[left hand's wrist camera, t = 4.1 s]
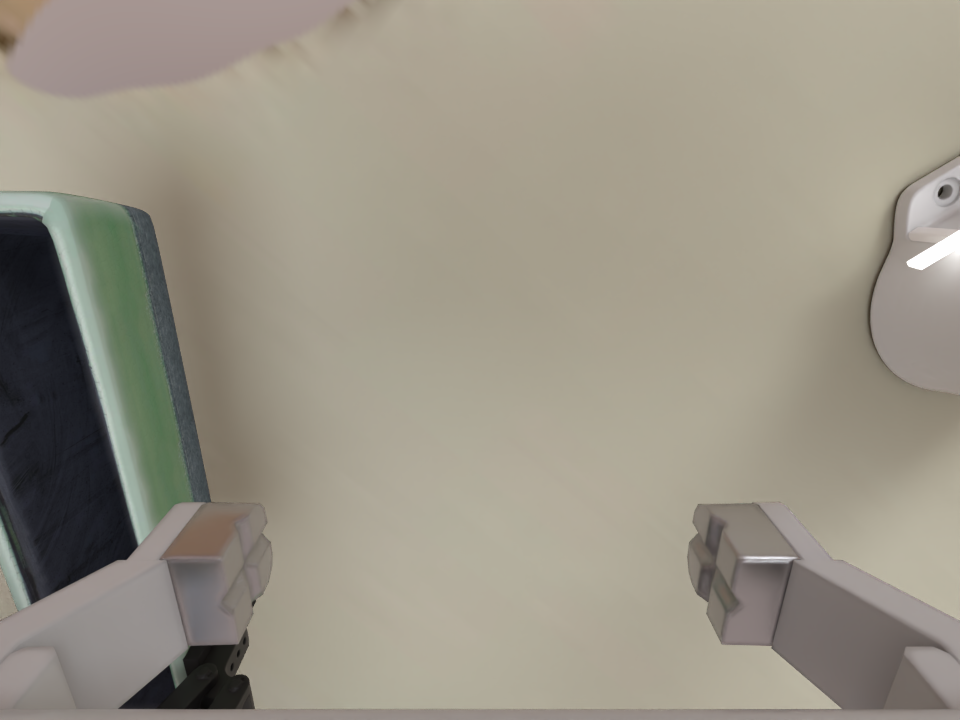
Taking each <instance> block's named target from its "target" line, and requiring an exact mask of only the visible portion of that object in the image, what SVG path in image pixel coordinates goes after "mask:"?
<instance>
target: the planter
mask: <svg viewBox="0 0 960 720" xmlns="http://www.w3.org/2000/svg"><path fill="white" fill-rule="evenodd" d="M181 502H205V503H208V502H211V499H210V494H209V489H208V484H207V479H206V474H205V470H204V465H203V460H202V455H201V450H200V445H199V440H198V435H197V430H196V425H195V421H194V416H193V411H192V406H191V401H190V396H189V391H188V386H187V381H186V377H185V372H184V367H183V362H182V357H181V352H180V347H179V343H178V338H177V333H176V328H175V323H174V318H173V314H172V309H171V304H170V299H169V294H168V290H167V285H166V280H165V275H164V271H163V266H162V261H161V256H160V252H159V247H158V243H157V239H156V235H155V230H154V226H153V223H152V221H151V218H150V216H149V215H148V214H147V213H146V212H144V211H142V210H140V209H137V208H133V207H129V206H125V205H121V204H117V203H112V202H107V201H102V200H97V199H92V198H87V197H82V196H76V195H70V194H64V193H56V192H40V191H0V566H1V568H2V571H3V574H4V576H5V579H6V582H7V584H8V587H9V589H10V592H11V595H12V597H13V600H14V602H15V605H16V608H17V610H18V611H20V610H22V609H24V608H26V607H28V606H30V605H32V604H34V603H35V602H37V601H39V600H41V599H43V598H45V597H47V596H49V595H51V594H53V593H55V592H57V591H59V590H61V589H63V588H65V587H66V586H68V585H70V584H72V583H74V582H76V581H78V580H80V579H82V578H84V577H86V576H88V575H90V574H92V573H94V572H96V571H97V570H99V569H101V568H103V567H105V566H107V565H109V564H111V563H113V562H115V561H117V560H127V559H128V558H129V557H130V555H131V554H132V553H133V552H134V551H135V550H136V548H137V547H138V546H139V545H140V544H141V543H142V542H143V540H144V539H145V538H146V537H147V536H148V535H149V534H150V532H151V531H152V530H153V529H154V528H155V527H156V525H157V524H158V523H159V522H160V521H161V520H162V519H163V517H164V516H165V515H166V514H167V513H168V512H169V511H170V509H171V508H172V507H173V506H174V505H175V504H178V503H181ZM189 648H190V646H188V649H187V650H186V651H185V652H184V653H183V654H181V655H180V656H179V657H178V658H177V659H176V660H174V661H173V662H172V663H171V664H170V665H169V666H167V667H166V668H165V669H164V670H163V671H162V672H160V673H159V674H158V675H157V676H156V677H155V678H153V679H152V680H151V681H150V682H149V683H148V684H146V685H145V686H144V687H143V688H142V689H141V690H139V691H138V692H137V693H136V694H135V695H133V696H132V697H131V698H130V699H129V700H128V701H126V702H125V703H124V704H123V705H122V706H121V707H119V708H118V709H156V708H157V707H158V706H159V705H160V704H161V703H162V702H163V701H164V700H165V699H166V698H167V697H168V696H169V695H170V694H171V693H172V692H173V691H174V690H175V689H176V688H177V687H178V686H179V685H180V684H181V683H182V682H183V681H184V680H185V678H186V677H187V674H186V671H185V667H184V663H183V658H184V657H185V655H186V654H187V652H188V650H189Z"/></svg>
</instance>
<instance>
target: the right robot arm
mask: <svg viewBox="0 0 960 720" xmlns="http://www.w3.org/2000/svg"><path fill="white" fill-rule="evenodd" d="M255 602H256V600H254V601H253V602H252V608H253V606H254V604H255ZM248 646H249V637H248V632H247V628H246V630H245V632H244V634H243V636H242V638H241V640H240V642H239V644H233V645H199V646H190V648H189V650H188V652H187V654H186V655H185V657H184V658H183V663H184V667H185V671H186V674H187V677H186V678H185V680H184V681H183V682H182V683H181V684H180V685H179V686H178V687H177V688H176V689H175V690H174V691H173V692H172V693H171V694H170V695H169V696H168V697H167V698H166V699H165V700H164V701H163V702H162V703H161V704H160V705H159V706H158V707H157V708H156V709H255V707H254V702H253V697H252V692H251V687H250V682H249V678H248V677H247V676H245V675H235V674H236V672H237V670H238V668H239V666H240V663H241V660H242V659H243V657H244V654H245V653H246V650H247V648H248Z"/></svg>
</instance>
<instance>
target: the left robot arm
mask: <svg viewBox="0 0 960 720" xmlns="http://www.w3.org/2000/svg"><path fill="white" fill-rule="evenodd" d="M942 186H943V192H942V194H941V195H940V196H939V197H938V191H939V189H940V188H941V187H942ZM870 325H871V333H872V337H873V341H874V344H875V347H876V349H877V352H878V354H879V355H880V357H881V359H882V360H883V362H884V363H885V364H886V366H887V367H888V368H889V369H890V370H891V371H892V372H893V373H894V374H895V375H897V376H898V377H899V378H901V379H902V380H904V381H906V382H908V383H910V384H912V385H914V386H917V387H920V388H923V389H927V390H932V391H939V392H946V393H951V394H956V395H960V156H958V157H956V158H955V159H953V160H951V161H950V162H948V163H946V164H945V165H943V166H941V167H940V168H938V169H936V170H934V171H933V172H931V173H929V174H928V175H926V176H924V177H923V178H921V179H919V180H918V181H916V182H914V183H913V184H911V185H910V186H908V187H907V188H906V189H905V190H904V191H903V192H902V194H901V195H900V197H899V200H898V202H897V206H896V211H895V219H894V240H893V243H892V247H891V249H890V252H889V254H888V257H887V259H886V261H885V263H884V265H883V267H882V270H881V272H880V274H879V277H878V279H877V282H876V285H875V288H874V292H873V296H872V302H871V310H870ZM266 524H267V518H266V513H265V508H264V507H263V506H262V505H261V504H260V503H219V502H208V503H205V502H181V503H178V504H175V505H174V506H173V507H172V508H171V509H170V511H169V512H168V513H167V514H166V515H165V516H164V517H163V519H162V520H161V521H160V522H159V523H158V524H157V525H156V527H155V528H154V529H153V530H152V531H151V532H150V534H149V535H148V536H147V537H146V538H145V539H144V540H143V542H142V543H141V544H140V545H139V546H138V547H137V548H136V550H135V551H134V552H133V553H132V554H131V555H130V557H129V558H128V559H127V560H117V561H115V562H113V563H111V564H109V565H107V566H105V567H103V568H101V569H99V570H97V571H96V572H94V573H92V574H90V575H88V576H86V577H84V578H82V579H80V580H78V581H76V582H74V583H72V584H70V585H68V586H66V587H65V588H63V589H61V590H59V591H57V592H55V593H53V594H51V595H49V596H47V597H45V598H43V599H41V600H39V601H37V602H35V603H34V604H32V605H30V606H28V607H26V608H24V609H22V610H20V611H18V612H16V613H14V614H12V615H10V616H8V617H6V618H4V619H3V620H1V621H0V720H960V621H959V620H957V619H955V618H953V617H951V616H949V615H948V614H946V613H944V612H942V611H940V610H938V609H936V608H934V607H932V606H930V605H928V604H926V603H924V602H922V601H920V600H919V599H917V598H915V597H913V596H911V595H909V594H907V593H905V592H903V591H901V590H899V589H897V588H895V587H893V586H891V585H890V584H888V583H886V582H884V581H882V580H880V579H878V578H876V577H874V576H872V575H870V574H868V573H866V572H864V571H862V570H861V569H859V568H857V567H855V566H853V565H851V564H849V563H847V562H845V561H843V560H833V559H832V558H831V557H830V555H829V554H828V553H827V552H826V551H825V550H824V548H823V547H822V546H821V545H820V544H819V543H818V542H817V540H816V539H815V538H814V537H813V536H812V535H811V534H810V532H809V531H808V530H807V529H806V528H805V527H804V526H803V524H802V523H801V522H800V521H799V520H798V519H797V517H796V516H795V515H794V514H793V513H792V512H791V511H790V509H789V508H788V507H787V506H786V505H785V504H782V503H780V502H758V503H742V504H698V505H697V507H696V509H695V512H694V517H693V524H694V526H695V528H696V529H697V531H698V534H697V535H696V536H695V537H694V538H693V539H692V540H691V541H690V542H689V548H688V556H687V558H688V570H689V575H690V578H691V582H692V585H693V587H694V589H695V591H696V593H697V595H699V596H700V597H702V598H703V599H704V600H706V601H707V602H708V608H707V613H706V614H707V616H708V618H709V620H710V622H711V624H712V626H713V628H714V630H715V632H716V634H717V636H718V638H719V640H720V642H721V644H725V645H761V646H772V649H773V650H774V651H775V652H777V653H778V654H779V655H780V656H781V657H782V658H784V659H785V660H786V661H787V662H788V663H789V664H791V665H792V666H793V667H794V668H795V669H796V670H798V671H799V672H800V673H801V674H802V675H803V676H805V677H806V678H807V679H808V680H809V681H810V682H812V683H813V684H814V685H815V686H816V687H817V688H819V689H820V690H821V691H822V692H823V693H824V694H825V695H827V696H828V697H829V698H830V699H831V700H832V701H834V702H835V703H836V704H837V705H838V706H839V707H841V708H842V709H118V708H119V707H121V706H122V705H123V704H124V703H125V702H126V701H128V700H129V699H130V698H131V697H132V696H133V695H135V694H136V693H137V692H138V691H139V690H141V689H142V688H143V687H144V686H145V685H146V684H148V683H149V682H150V681H151V680H152V679H153V678H155V677H156V676H157V675H158V674H159V673H160V672H162V671H163V670H164V669H165V668H166V667H167V666H169V665H170V664H171V663H172V662H173V661H174V660H176V659H177V658H178V657H179V656H180V655H181V654H183V653H184V652H185V651H186V650H187V649H188V646H199V645H233V644H239V642H240V640H241V638H242V636H243V634H244V632H245V630H246V628H247V626H248V624H249V622H250V620H251V618H252V616H253V614H254V613H253V608H252V602H253V601H254V600H256V599H257V598H258V597H260V596H261V595H263V593H264V591H265V589H266V587H267V584H268V582H269V578H270V574H271V569H272V547H271V542H270V541H269V540H268V539H267V538H266V537H265V536H264V535H263V534H262V531H263V529H264V528H265V526H266Z"/></svg>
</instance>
